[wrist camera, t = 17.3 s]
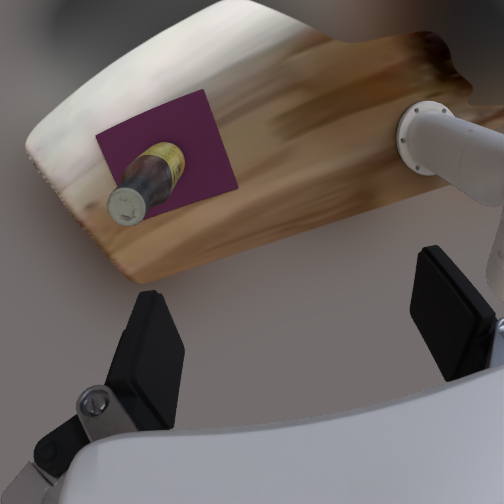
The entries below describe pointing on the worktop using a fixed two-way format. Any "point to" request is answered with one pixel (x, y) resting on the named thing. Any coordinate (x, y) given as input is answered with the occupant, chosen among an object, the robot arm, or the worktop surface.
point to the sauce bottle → (146, 183)
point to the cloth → (185, 137)
